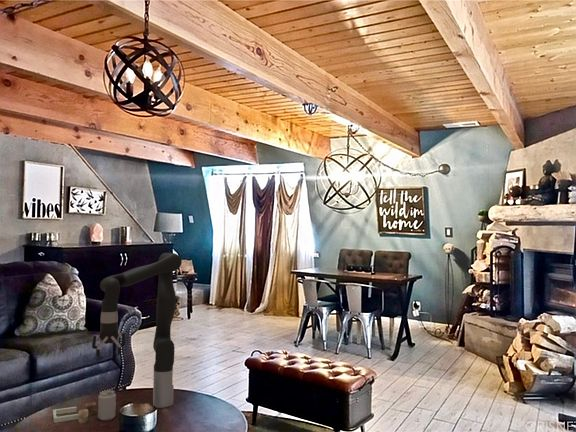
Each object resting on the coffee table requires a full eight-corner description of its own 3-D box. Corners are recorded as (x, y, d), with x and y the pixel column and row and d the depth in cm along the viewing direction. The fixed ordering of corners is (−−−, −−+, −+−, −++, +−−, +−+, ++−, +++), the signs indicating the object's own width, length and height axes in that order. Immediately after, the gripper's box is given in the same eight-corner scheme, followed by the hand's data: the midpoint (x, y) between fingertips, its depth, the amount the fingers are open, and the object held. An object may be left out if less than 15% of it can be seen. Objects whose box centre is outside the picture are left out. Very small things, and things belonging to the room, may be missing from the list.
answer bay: (76, 410, 231) (76, 406, 231) (78, 419, 221) (78, 414, 221) (52, 414, 226) (52, 409, 226) (53, 422, 216) (54, 418, 216)
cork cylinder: (87, 419, 221) (87, 408, 221) (88, 422, 217) (88, 411, 217) (77, 421, 219) (78, 409, 219) (78, 424, 215) (79, 412, 215)
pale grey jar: (109, 422, 218) (110, 395, 219) (94, 420, 220) (95, 393, 220) (118, 415, 226) (119, 389, 226) (104, 414, 227) (104, 388, 227)
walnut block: (95, 411, 231) (95, 401, 231) (96, 414, 227) (96, 404, 227) (84, 413, 229) (85, 403, 229) (85, 416, 225) (86, 406, 225)
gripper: (123, 318, 231) (123, 353, 230) (91, 320, 224) (90, 356, 223) (126, 321, 224) (125, 356, 224) (93, 323, 217) (92, 360, 217)
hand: (108, 356), depth 223 cm, fingers open, 8 cm apart
